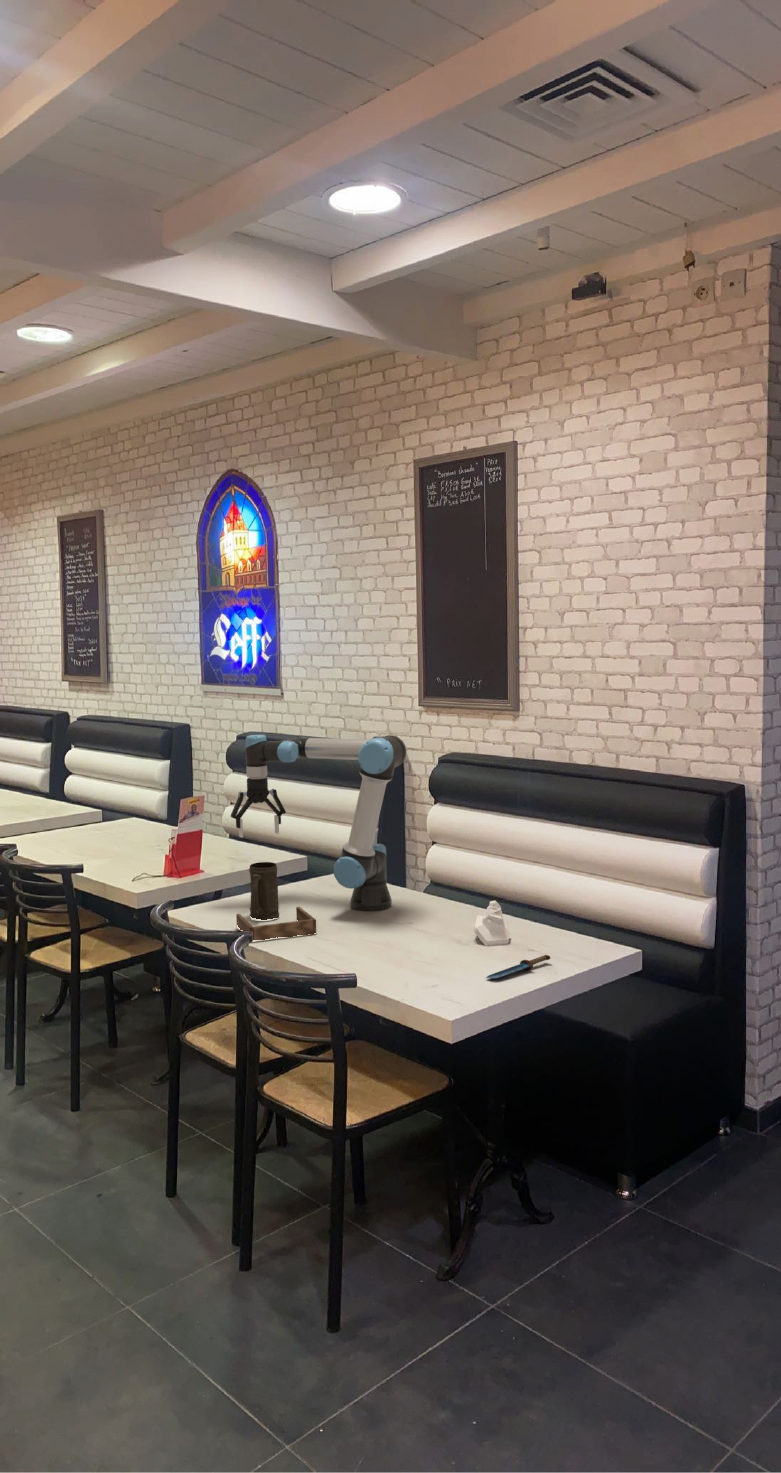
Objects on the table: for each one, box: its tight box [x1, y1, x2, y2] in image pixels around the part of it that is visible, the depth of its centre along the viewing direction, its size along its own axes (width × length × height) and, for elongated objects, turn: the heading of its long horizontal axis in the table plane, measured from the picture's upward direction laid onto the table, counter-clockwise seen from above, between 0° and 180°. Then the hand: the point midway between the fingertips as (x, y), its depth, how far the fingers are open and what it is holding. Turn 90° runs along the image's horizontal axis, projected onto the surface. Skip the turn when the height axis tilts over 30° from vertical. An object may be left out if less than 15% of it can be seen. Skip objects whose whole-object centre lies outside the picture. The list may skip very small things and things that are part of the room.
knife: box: [485, 954, 551, 979], centre depth 301 cm, size 24×3×5 cm
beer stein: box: [248, 861, 280, 920], centre depth 361 cm, size 15×10×20 cm
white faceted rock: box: [473, 900, 511, 947], centre depth 333 cm, size 12×15×14 cm
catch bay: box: [235, 906, 317, 940], centre depth 347 cm, size 22×18×5 cm
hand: (259, 835), depth 378 cm, fingers open, 13 cm apart
